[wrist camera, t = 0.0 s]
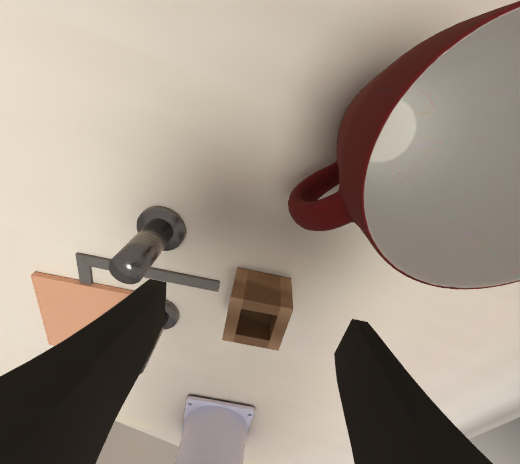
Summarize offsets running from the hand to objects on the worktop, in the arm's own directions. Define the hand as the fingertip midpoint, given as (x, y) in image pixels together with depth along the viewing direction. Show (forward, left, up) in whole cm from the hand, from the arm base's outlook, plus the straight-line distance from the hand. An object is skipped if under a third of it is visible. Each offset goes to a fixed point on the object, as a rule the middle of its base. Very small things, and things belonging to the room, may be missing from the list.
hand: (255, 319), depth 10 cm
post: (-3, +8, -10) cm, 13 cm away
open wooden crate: (-7, -1, -10) cm, 13 cm away
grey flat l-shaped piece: (-9, +8, -10) cm, 16 cm away
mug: (+6, -5, -10) cm, 13 cm away
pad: (-14, +14, -10) cm, 22 cm away
